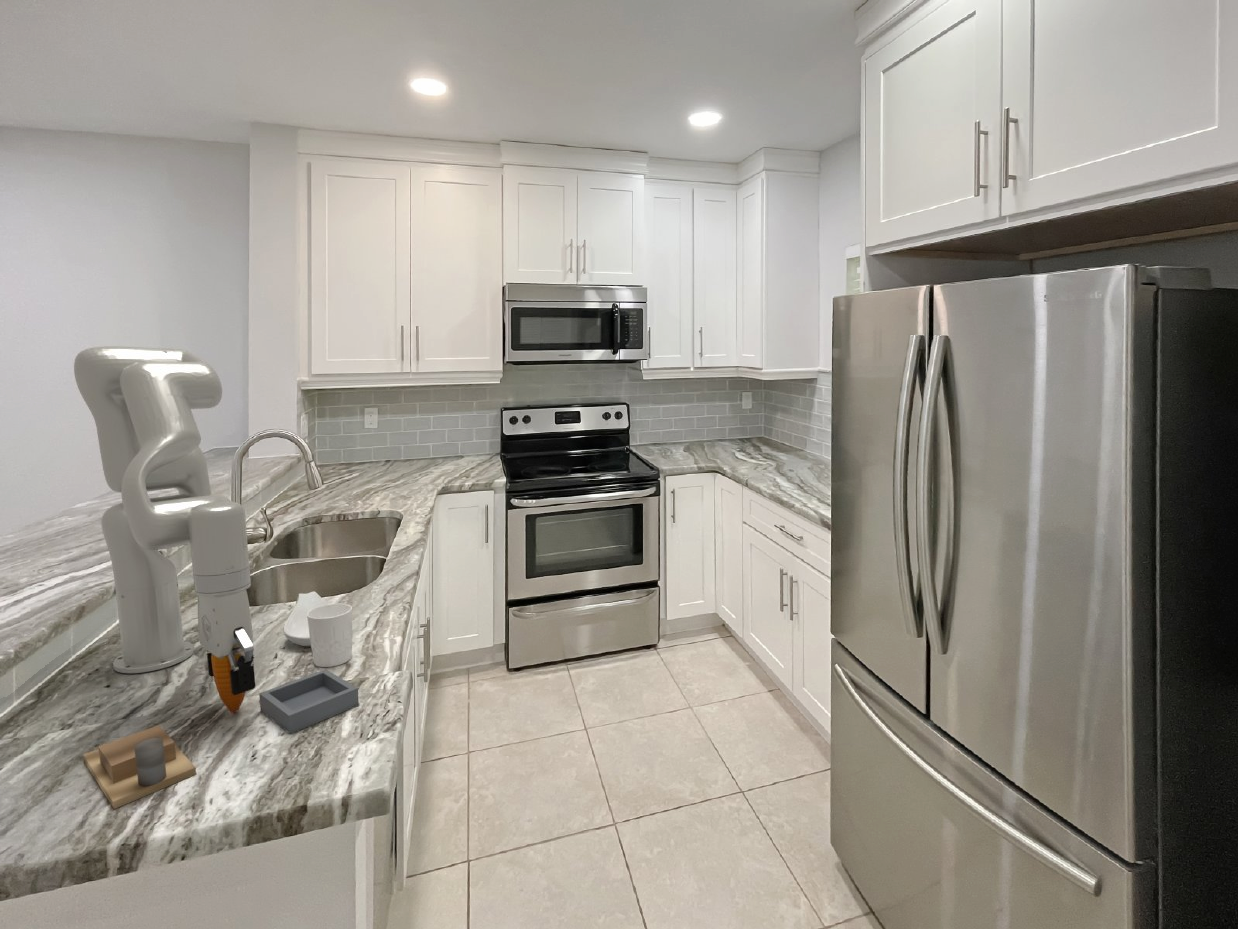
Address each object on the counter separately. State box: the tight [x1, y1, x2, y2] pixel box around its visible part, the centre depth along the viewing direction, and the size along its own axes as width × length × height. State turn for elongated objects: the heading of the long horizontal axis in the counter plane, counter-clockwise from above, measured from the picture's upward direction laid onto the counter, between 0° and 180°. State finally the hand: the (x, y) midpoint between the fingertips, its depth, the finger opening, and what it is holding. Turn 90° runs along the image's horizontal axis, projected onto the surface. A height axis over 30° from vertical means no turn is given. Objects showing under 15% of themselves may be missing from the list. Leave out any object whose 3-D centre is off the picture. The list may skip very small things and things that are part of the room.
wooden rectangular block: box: [97, 724, 176, 784], centre depth 86 cm, size 7×7×2 cm
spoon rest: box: [283, 591, 329, 647], centre depth 133 cm, size 24×12×7 cm, turn 34°
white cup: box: [307, 603, 353, 668], centre depth 119 cm, size 8×8×10 cm
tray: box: [258, 668, 360, 735], centre depth 102 cm, size 11×11×3 cm
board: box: [82, 738, 197, 810], centre depth 86 cm, size 16×9×6 cm, turn 51°
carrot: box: [211, 647, 247, 714], centre depth 99 cm, size 5×5×15 cm
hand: (231, 682), depth 100 cm, fingers open, 9 cm apart
